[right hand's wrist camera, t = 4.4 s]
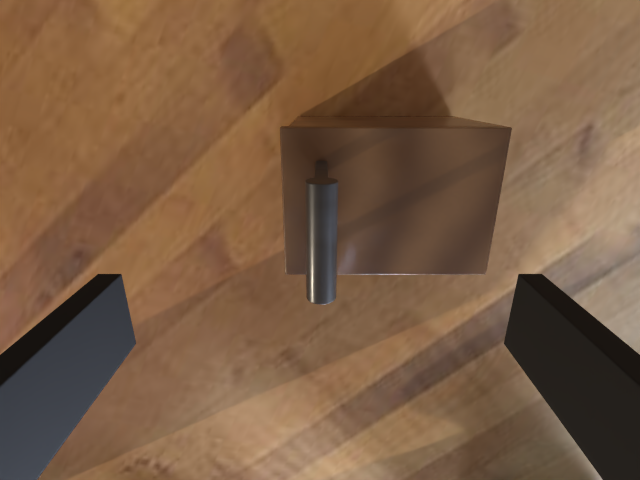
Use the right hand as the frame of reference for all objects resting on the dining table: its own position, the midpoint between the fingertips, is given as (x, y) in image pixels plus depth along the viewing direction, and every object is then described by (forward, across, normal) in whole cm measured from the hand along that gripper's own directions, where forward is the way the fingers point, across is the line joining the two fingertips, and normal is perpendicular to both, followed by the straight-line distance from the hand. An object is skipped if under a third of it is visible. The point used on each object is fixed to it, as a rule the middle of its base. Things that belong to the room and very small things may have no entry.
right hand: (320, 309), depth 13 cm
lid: (+13, -4, 0) cm, 14 cm away
